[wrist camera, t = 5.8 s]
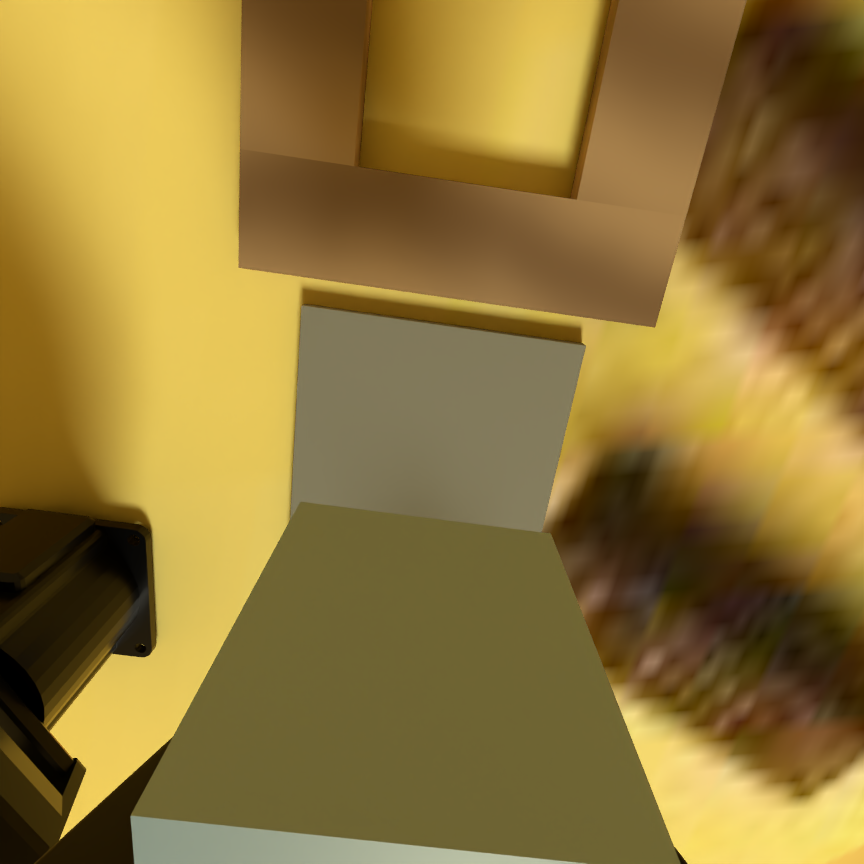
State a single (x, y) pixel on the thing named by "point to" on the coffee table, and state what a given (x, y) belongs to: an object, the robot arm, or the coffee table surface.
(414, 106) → the coffee table surface
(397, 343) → the rubber mat
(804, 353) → the coffee table surface
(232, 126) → the coffee table surface
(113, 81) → the coffee table surface
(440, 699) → the slate block
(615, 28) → the walnut pocket plate
